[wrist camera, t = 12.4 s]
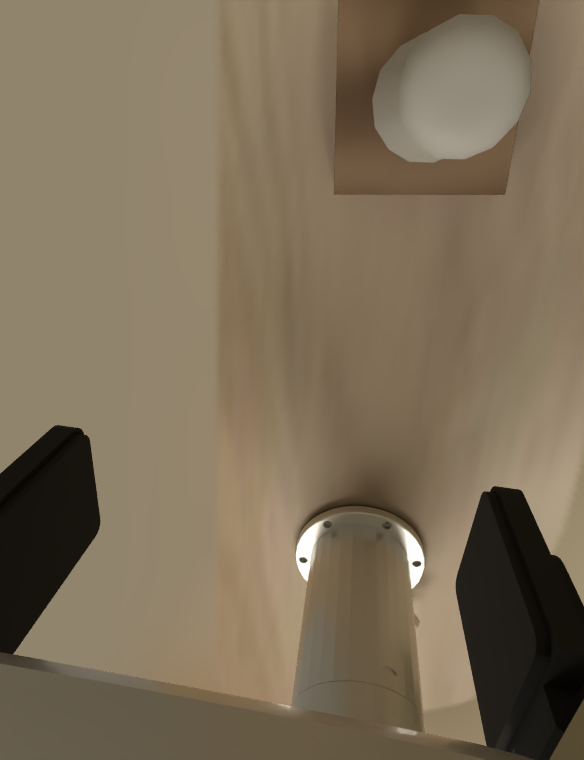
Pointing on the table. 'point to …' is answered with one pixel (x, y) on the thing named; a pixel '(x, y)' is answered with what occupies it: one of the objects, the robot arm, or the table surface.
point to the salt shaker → (452, 89)
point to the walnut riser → (357, 85)
